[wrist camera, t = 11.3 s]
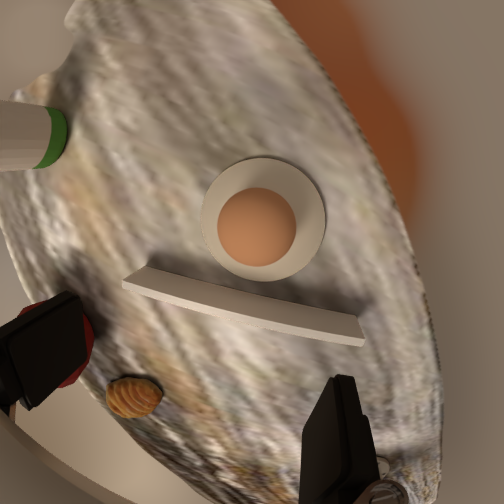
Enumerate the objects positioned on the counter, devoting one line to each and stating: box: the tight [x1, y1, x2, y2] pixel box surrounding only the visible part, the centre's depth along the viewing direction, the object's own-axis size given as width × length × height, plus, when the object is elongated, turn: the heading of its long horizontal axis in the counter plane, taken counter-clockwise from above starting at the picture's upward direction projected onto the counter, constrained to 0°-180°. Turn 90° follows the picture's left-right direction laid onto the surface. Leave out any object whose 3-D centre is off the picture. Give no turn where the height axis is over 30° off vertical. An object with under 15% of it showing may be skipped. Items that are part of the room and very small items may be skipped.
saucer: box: [201, 158, 325, 282], centre depth 24 cm, size 11×11×1 cm
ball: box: [217, 187, 296, 267], centre depth 21 cm, size 6×6×6 cm
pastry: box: [106, 377, 163, 418], centre depth 31 cm, size 9×7×4 cm
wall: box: [122, 266, 365, 347], centre depth 24 cm, size 22×1×4 cm, turn 79°
